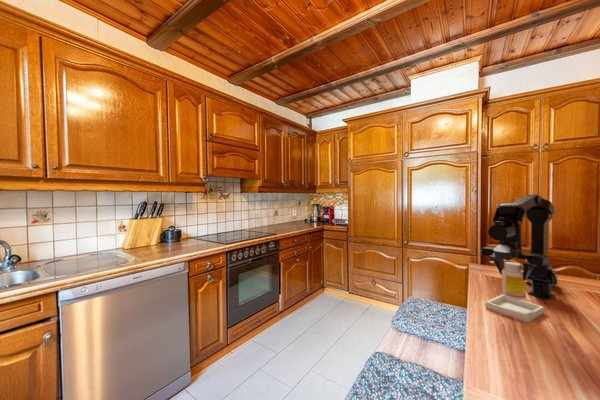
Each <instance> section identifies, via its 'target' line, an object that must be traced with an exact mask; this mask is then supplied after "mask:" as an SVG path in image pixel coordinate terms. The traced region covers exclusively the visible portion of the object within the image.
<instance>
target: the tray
mask: <svg viewBox="0 0 600 400" xmlns="http://www.w3.org/2000/svg"><path fill="white" fill-rule="evenodd" d="M485 309H488V310H490V311H492V312H495V311H496V313H498V314H501V315H504V316H506V317H509V318H511V319H512V318H513V319H515V320H517V321H519V322H520V321H521V322H524V323H526V324H529V323H530V322H532V321H534V320H536V319H537V318H539V317H541V316H543V315H544V314H545V307H544V306H542V305H539V304H536V303H532V302H529V301H526V300H514V299H510V298H507V297H505V296H504V295H503V293H502V294H500V295H498V296H496V297H493V298H491V299H489V300H487V301H485Z"/></svg>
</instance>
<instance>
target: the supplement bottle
mask: <svg viewBox="0 0 600 400" xmlns="http://www.w3.org/2000/svg"><path fill="white" fill-rule="evenodd" d="M504 267H505V268H504V269H503V270H502V275H501V289H502V290H501V291H502V294H503V295H504V296H505V297H507V298H510V299H514V300H523V301H525V300H526V299H527V294H526V291H527V290H526V289H527V288H526V280H524V279H523V270H521V269H522V264H521V263H518V262H514V261H504Z"/></svg>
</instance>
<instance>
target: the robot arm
mask: <svg viewBox="0 0 600 400" xmlns="http://www.w3.org/2000/svg"><path fill="white" fill-rule="evenodd" d="M554 214H555V206H554V204H553V203H552V202H551V201H549V200H547V199H545V198H543V197H542V196H541V195H539V194H525V195H523V196H522V197H520V198H518V199H516V200H515V201H513V202H506V203H500V204H499V205H498V206H497V207H496V209H495V213H494V215H493V218H492V223H493V225H491V226H489V229H488V235H489V237H490V238H491V239H493V240H495V241H497V242H499V243H498V245H496V246H485V247H481V249H480V256H481V255H482V256H486V257H487V258H488V259H491V260H492V261H493V262H494V264H495V266H496V268H497V269H498V272H499V274H500V275H501V276H502V270H503V269H505V268H504V267H505V266H504V263H505V261H511V260H513V258H514V259H519V260H525V262H522V264H521V265H522V266H523V270H522V271H523V279H524V280H525V281H527V279H529V280H532V284H531V290H530V291H529V292H528V295H532V296H535V297H539V298H542V299H545V300H550V299H552V298H554V297H556V294H554V293H552V286H554V284H555V285H558V276H557V274H556V273H555V271H554V270H553V264H552V263H551V262H550V259H549V258H550V257H549V255H547V253H548V248H547V245H548V240H547V239H548V224H549V223H550V222H551V220H552V219H554ZM525 217H526V219H527V220H528V222H530V224H531V225H530V226H531V227H530V228H531V229H530V231H531V232H530V234H531V235H530V236H531V238H530V239H531V241H530V254H524V253H525V250H524V249H523V243H524V239H523V236H522V235H523V234H522V233H523V232H522V230H523V229H522V224H523V222H524V220H525ZM504 260H505V261H504ZM551 285H552V286H551Z"/></svg>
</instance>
